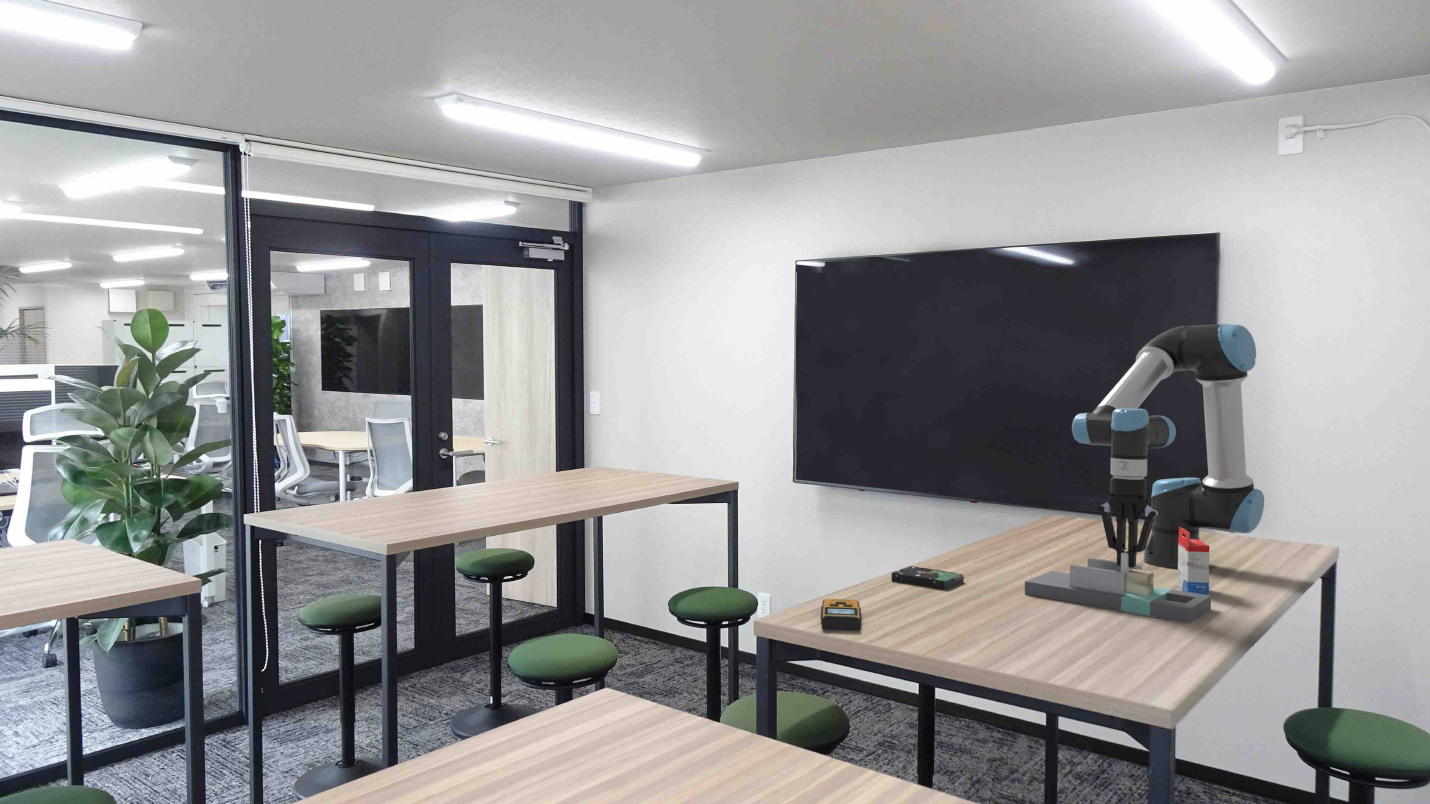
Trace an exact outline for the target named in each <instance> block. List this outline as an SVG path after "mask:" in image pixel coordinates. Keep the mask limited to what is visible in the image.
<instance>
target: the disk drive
mask: <svg viewBox="0 0 1430 804" xmlns="http://www.w3.org/2000/svg"><path fill="white" fill-rule="evenodd" d="M964 578H965V576H964V574H963V573H962V574H961V573H957V572H955V571H953V572H952V571H946V570H938V569H933V568H927V567H926V568H925V567H921V566H912V565H910V566H907V567H904V568H901V569H899V570H895V571H892V572H891V582H895V583H902V584H907V585H908V584H909V585H913V586H919V587H925V588H933V589H939V590H944V591H947V590H949V589H952V588H954V587H956V586H959V585H961V584H964V582H965V580H964Z"/></svg>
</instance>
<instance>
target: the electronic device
mask: <svg viewBox="0 0 1430 804" xmlns="http://www.w3.org/2000/svg"><path fill="white" fill-rule="evenodd" d="M821 603H822V605H821V606H820V622H821V623H820V624H821V628H822V630H825V631H828V630H829V631H854V632H855V631H856V632H859V631H860V630H861V625H862V612H861V611H862V610H861V607H860V601H859V600H857V599H848V598H847V599H844V598H839V599H838V598H825V599H823V600H822V602H821Z"/></svg>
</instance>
